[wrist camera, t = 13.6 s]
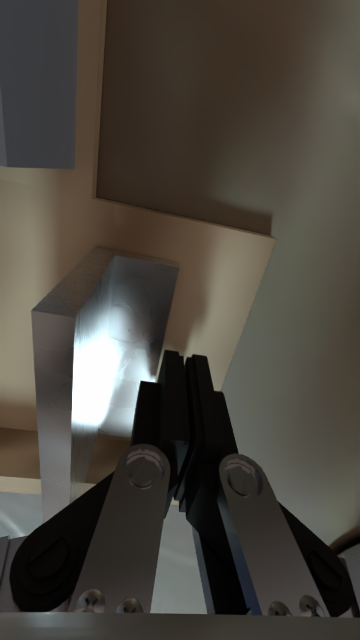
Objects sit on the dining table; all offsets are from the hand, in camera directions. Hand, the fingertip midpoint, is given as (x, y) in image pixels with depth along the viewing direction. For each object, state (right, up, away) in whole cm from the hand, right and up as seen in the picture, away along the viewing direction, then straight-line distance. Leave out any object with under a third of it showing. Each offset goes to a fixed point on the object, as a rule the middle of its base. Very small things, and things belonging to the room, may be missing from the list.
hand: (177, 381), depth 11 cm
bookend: (-2, +1, +1) cm, 3 cm away
